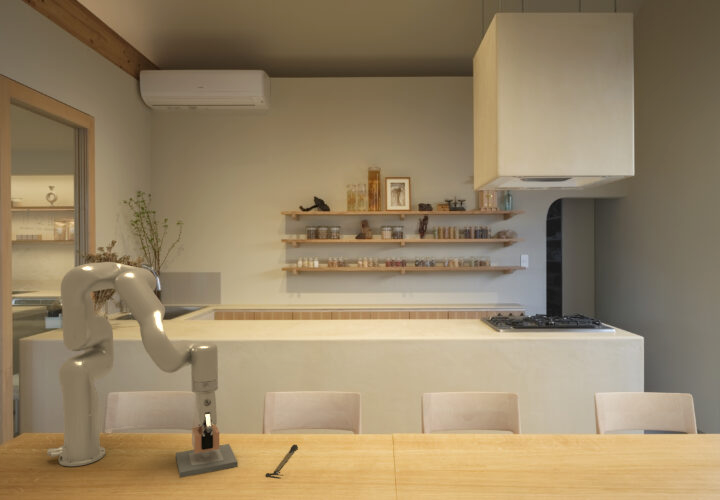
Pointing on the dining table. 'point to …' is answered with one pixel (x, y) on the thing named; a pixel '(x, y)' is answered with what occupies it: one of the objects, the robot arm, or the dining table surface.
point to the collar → (197, 439)
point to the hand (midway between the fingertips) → (205, 443)
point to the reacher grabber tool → (282, 463)
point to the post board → (205, 461)
